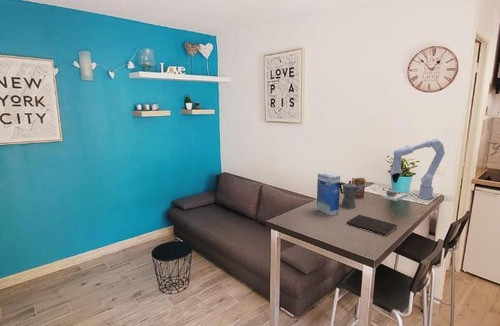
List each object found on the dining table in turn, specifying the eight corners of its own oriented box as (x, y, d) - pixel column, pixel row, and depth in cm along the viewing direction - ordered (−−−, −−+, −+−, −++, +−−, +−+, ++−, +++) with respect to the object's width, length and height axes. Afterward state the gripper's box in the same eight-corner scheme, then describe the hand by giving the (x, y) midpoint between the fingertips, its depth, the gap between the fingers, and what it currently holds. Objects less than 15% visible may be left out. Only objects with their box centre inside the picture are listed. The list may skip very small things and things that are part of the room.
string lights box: (339, 214, 187) (341, 175, 182) (330, 216, 183) (332, 177, 178) (323, 208, 198) (325, 171, 193) (315, 210, 194) (317, 173, 189)
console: (393, 193, 228) (393, 190, 227) (407, 196, 219) (407, 194, 219) (381, 197, 218) (381, 194, 218) (395, 201, 209) (395, 198, 209)
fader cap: (389, 194, 219) (389, 189, 218) (396, 195, 215) (396, 191, 214) (386, 195, 216) (387, 190, 216) (393, 196, 212) (393, 192, 212)
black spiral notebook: (358, 217, 182) (359, 214, 182) (397, 228, 166) (397, 225, 166) (346, 225, 171) (346, 221, 171) (386, 237, 155) (386, 234, 155)
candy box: (353, 198, 216) (354, 179, 212) (350, 197, 220) (351, 177, 217) (364, 198, 217) (365, 178, 214) (361, 196, 221) (362, 177, 218)
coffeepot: (360, 207, 199) (362, 182, 195) (352, 210, 194) (353, 184, 190) (342, 201, 211) (344, 177, 207) (334, 203, 206) (335, 179, 202)
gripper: (396, 163, 228) (395, 179, 231) (386, 165, 220) (385, 182, 223) (405, 164, 222) (403, 181, 225) (395, 167, 214) (393, 184, 217)
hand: (395, 182), depth 224 cm, fingers closed
